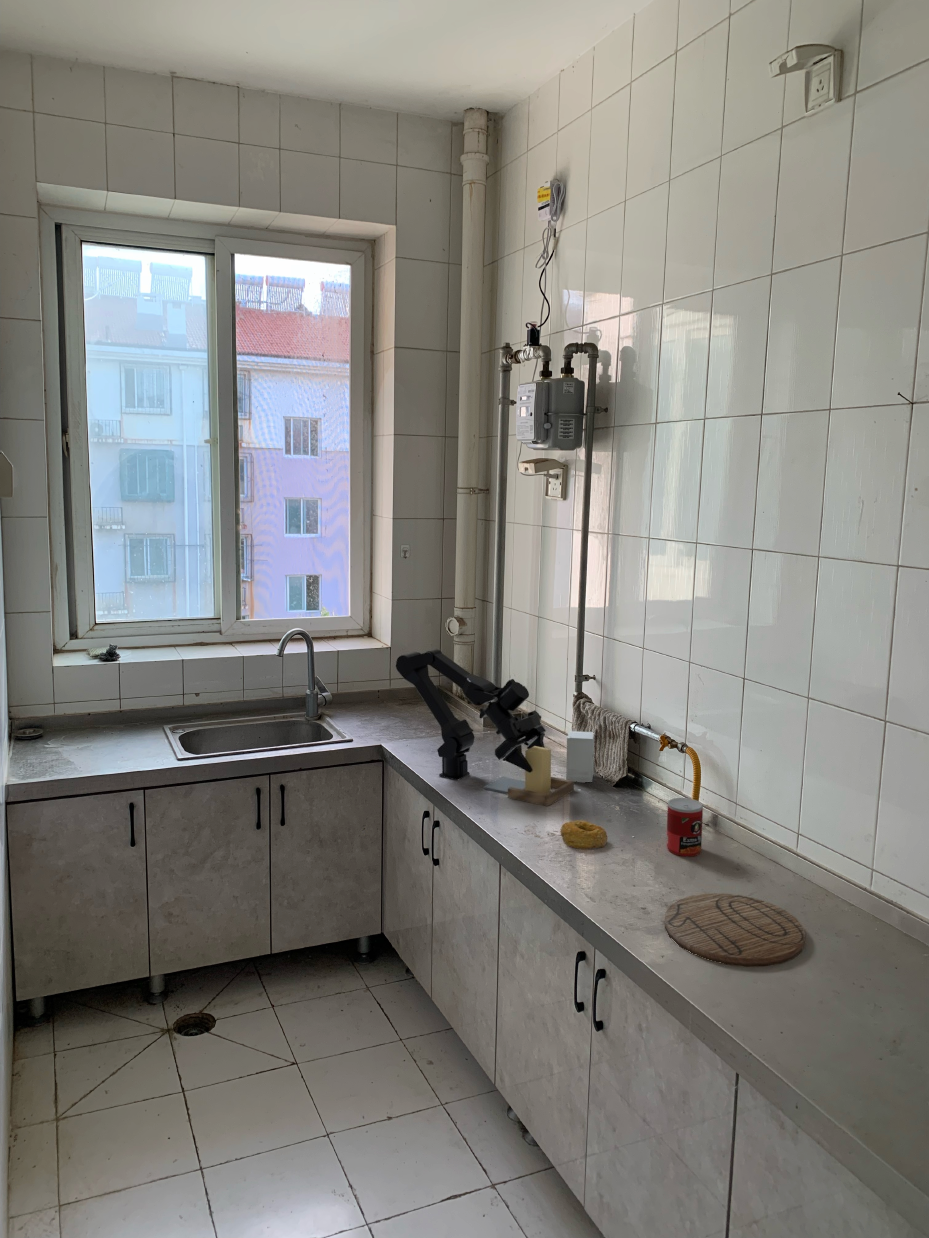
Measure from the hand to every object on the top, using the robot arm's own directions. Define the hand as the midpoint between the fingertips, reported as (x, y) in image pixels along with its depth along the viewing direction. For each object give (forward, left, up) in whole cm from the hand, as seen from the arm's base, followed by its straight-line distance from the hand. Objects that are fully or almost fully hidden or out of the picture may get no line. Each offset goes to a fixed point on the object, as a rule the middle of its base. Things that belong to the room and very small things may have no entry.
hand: (540, 766), depth 245 cm
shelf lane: (0, 0, -7) cm, 7 cm away
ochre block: (-1, 0, -7) cm, 7 cm away
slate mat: (-10, 0, -7) cm, 12 cm away
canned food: (+45, -15, -8) cm, 48 cm away
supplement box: (+3, +17, -8) cm, 19 cm away
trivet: (+66, -46, -8) cm, 81 cm away
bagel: (+24, -23, -8) cm, 34 cm away
